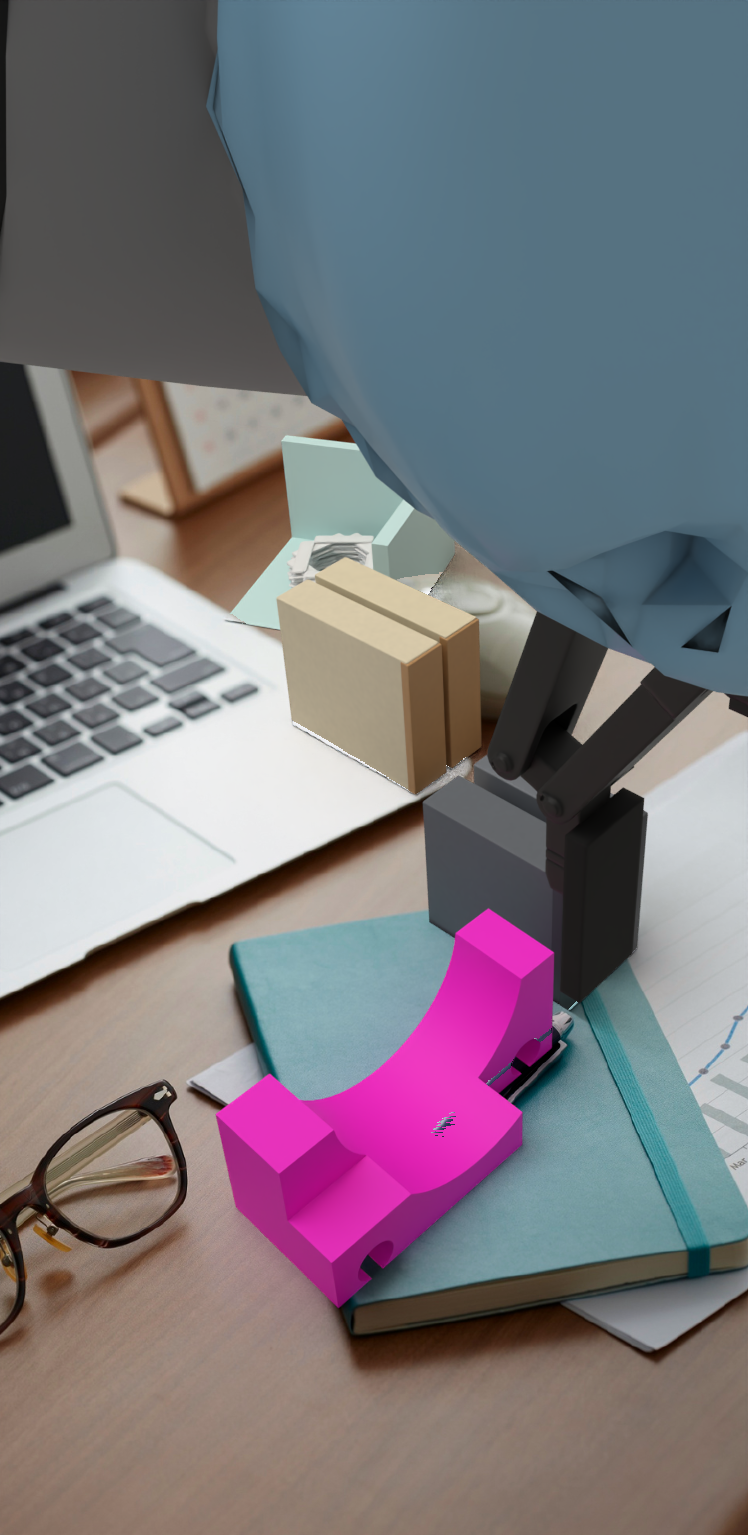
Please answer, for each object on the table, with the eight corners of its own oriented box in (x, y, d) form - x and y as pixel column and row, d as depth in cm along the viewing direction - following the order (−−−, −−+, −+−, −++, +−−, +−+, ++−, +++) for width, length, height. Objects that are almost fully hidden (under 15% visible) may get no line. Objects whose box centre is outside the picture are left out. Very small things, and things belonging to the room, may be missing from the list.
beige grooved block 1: (415, 797, 79) (408, 664, 73) (291, 725, 84) (274, 597, 79) (447, 774, 80) (442, 642, 74) (322, 704, 86) (308, 577, 80)
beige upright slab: (451, 770, 80) (447, 638, 74) (326, 702, 86) (313, 574, 80) (482, 748, 82) (479, 617, 76) (356, 682, 87) (346, 555, 82)
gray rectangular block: (558, 1023, 66) (563, 883, 60) (429, 939, 70) (421, 802, 65) (593, 991, 67) (600, 851, 61) (463, 910, 72) (459, 774, 66)
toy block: (341, 1327, 55) (324, 1216, 50) (239, 1226, 58) (215, 1114, 54) (594, 1099, 62) (600, 984, 57) (490, 1022, 66) (488, 908, 61)
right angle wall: (296, 530, 102) (286, 435, 97) (454, 553, 98) (452, 455, 94) (224, 620, 94) (208, 519, 89) (394, 648, 90) (387, 545, 85)
